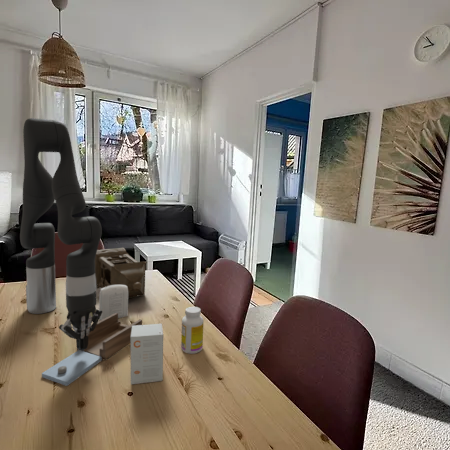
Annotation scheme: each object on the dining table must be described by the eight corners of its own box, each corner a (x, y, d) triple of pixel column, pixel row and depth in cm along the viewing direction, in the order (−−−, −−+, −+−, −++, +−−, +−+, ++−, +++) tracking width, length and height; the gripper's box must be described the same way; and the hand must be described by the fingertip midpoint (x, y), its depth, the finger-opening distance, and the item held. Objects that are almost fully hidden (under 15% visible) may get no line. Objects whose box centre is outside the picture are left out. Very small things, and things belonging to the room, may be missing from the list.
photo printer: (126, 312, 118) (126, 281, 116) (129, 316, 115) (129, 285, 113) (98, 317, 112) (97, 285, 111) (100, 322, 109) (100, 289, 107)
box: (76, 350, 91) (76, 332, 90) (115, 327, 106) (115, 312, 105) (105, 360, 87) (105, 342, 86) (141, 335, 101) (142, 320, 100)
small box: (161, 366, 85) (162, 322, 83) (162, 381, 79) (163, 334, 77) (131, 369, 83) (131, 324, 81) (130, 385, 77) (130, 336, 75)
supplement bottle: (205, 345, 97) (207, 307, 95) (197, 356, 91) (198, 315, 89) (186, 341, 99) (188, 303, 97) (177, 351, 93) (178, 311, 91)
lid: (41, 378, 78) (41, 369, 78) (78, 355, 90) (78, 346, 89) (66, 388, 76) (66, 378, 75) (101, 362, 87) (101, 353, 86)
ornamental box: (155, 308, 129) (161, 266, 128) (114, 313, 118) (120, 266, 116) (123, 282, 156) (128, 247, 154) (86, 284, 144) (92, 246, 143)
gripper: (90, 280, 91) (91, 335, 93) (49, 294, 79) (51, 357, 81) (110, 285, 88) (110, 341, 90) (70, 300, 76) (72, 365, 78)
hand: (82, 348), depth 86 cm, fingers closed
